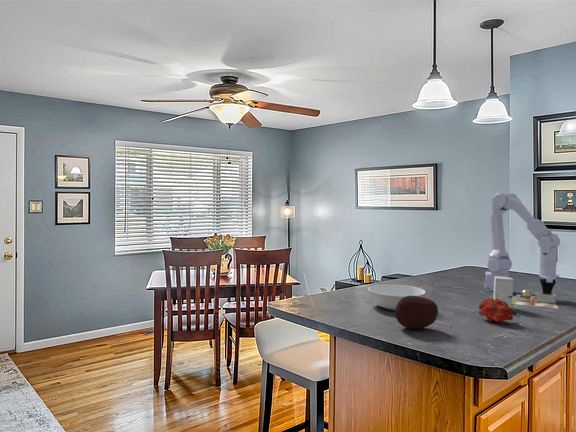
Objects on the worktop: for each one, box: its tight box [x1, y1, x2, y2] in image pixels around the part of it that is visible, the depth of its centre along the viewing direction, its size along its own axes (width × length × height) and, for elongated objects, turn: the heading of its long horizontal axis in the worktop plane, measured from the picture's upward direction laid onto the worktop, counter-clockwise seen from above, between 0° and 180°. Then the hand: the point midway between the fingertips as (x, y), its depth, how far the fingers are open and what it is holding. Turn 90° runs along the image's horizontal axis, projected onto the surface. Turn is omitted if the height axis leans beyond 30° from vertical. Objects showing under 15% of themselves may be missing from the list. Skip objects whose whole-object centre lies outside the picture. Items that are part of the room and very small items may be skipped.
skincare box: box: [492, 276, 514, 308], centre depth 165 cm, size 6×4×12 cm
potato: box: [394, 296, 439, 330], centre depth 138 cm, size 11×13×10 cm
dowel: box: [531, 297, 535, 305], centre depth 170 cm, size 1×1×3 cm
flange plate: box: [516, 292, 557, 304], centre depth 177 cm, size 14×7×3 cm, turn 65°
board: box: [512, 295, 559, 310], centre depth 176 cm, size 17×16×1 cm
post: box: [521, 289, 532, 298], centre depth 178 cm, size 3×3×4 cm
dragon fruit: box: [478, 297, 518, 325], centre depth 148 cm, size 8×8×12 cm
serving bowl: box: [367, 283, 427, 311], centre depth 166 cm, size 21×21×7 cm
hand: (546, 297), depth 180 cm, fingers closed
